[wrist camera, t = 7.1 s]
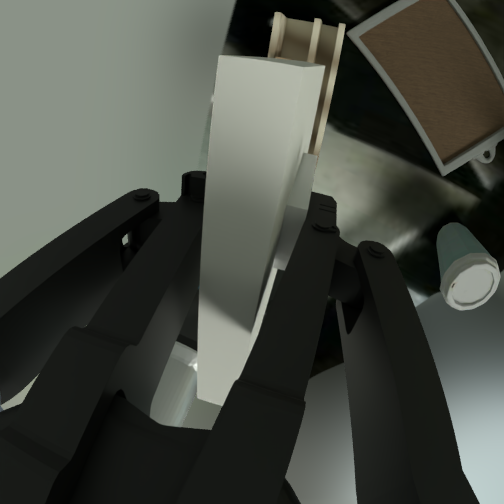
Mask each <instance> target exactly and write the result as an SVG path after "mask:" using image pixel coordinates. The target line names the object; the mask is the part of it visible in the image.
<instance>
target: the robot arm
mask: <svg viewBox="0 0 504 504" xmlns="http://www.w3.org/2000/svg"><path fill="white" fill-rule="evenodd" d="M317 157H318V156H316V155H312V154H308V153H303V156H302V160H301V163H300V166H299V169H298V172H297V175H296V178H295V181H294V184H293V187H292V190H291V193H290V196H289V199H288V202H287V205H286V210H285V215H284V219H283V224H282V229H281V233H280V238H279V242H278V247H277V252H276V256H275V261H274V265H273V268H276V269H277V273H276V276H275V280H274V283H273V286H272V290H271V293H270V297H269V300H268V303H267V307H266V310H265V313H264V317H263V320H262V323H261V327H260V330H259V333H258V336H257V338H256V340H255V343H254V345H253V347H252V350H251V352H250V354H249V357H248V359H247V361H246V364H245V366H244V368H243V370H242V373H241V375H240V377H239V378H238V380H235V382H234V383H233V385H232V387H231V389H230V391H229V393H228V395H227V397H226V400H225V402H224V404H223V406H222V408H221V411H220V413H219V415H218V417H217V419H216V421H215V424H214V426H213V428H212V430H205V429H193V428H183V427H181V426H182V424H183V422H184V419H185V417H186V415H187V413H188V410H189V408H190V406H191V404H192V402H193V400H194V397H195V395H196V393H197V352H198V312H199V286H200V264H201V245H202V229H203V213H204V199H205V186H206V173H207V172H205V171H190V172H187V173H184V174H183V175H182V189H181V196H180V198H179V199H178V200H177V201H176V202H159V194H158V192H156V191H154V190H150V189H147V188H146V189H143V188H141V189H137V190H133V191H131V192H129V193H127V194H125V195H124V196H122V197H120V198H118V199H117V200H115V201H113V202H112V203H110V204H108V205H107V206H105V207H103V208H102V209H100V210H99V211H97V212H95V213H94V214H92V215H91V216H89V217H88V218H86V219H84V220H83V221H81V222H80V223H78V224H76V225H75V226H73V227H72V228H70V229H69V230H67V231H66V232H64V233H63V234H61V235H60V236H58V237H57V238H55V239H54V240H53V241H51V242H50V243H48V244H47V245H45V246H44V247H43V248H41V249H40V250H38V251H37V252H36V253H34V254H32V255H31V256H30V257H28V258H27V259H26V260H24V261H23V262H22V263H20V264H19V265H17V266H16V267H15V268H14V269H12V270H11V271H10V272H8V273H7V274H6V275H4V276H3V277H2V278H0V405H2V404H3V403H5V402H7V401H8V400H10V399H11V398H13V397H14V396H15V395H17V394H18V393H19V392H20V391H22V390H23V389H24V388H25V387H26V386H27V385H28V384H29V383H30V382H31V381H32V380H33V379H34V378H35V377H36V376H37V375H38V374H39V375H38V377H37V378H36V380H35V382H34V383H33V385H32V387H31V389H30V390H29V392H28V394H27V395H26V397H25V399H24V401H23V402H22V403H21V404H19V405H16V406H14V407H11V408H9V409H6V410H3V409H2V408H1V406H0V504H301V503H300V502H299V500H298V498H297V496H296V494H295V492H294V491H293V489H292V487H291V485H290V484H289V483H288V481H287V480H286V479H285V475H286V472H287V469H288V466H289V463H290V459H291V456H292V453H293V450H294V446H295V443H296V439H297V436H298V433H299V429H300V425H301V422H302V418H303V415H304V410H305V404H306V402H305V401H304V396H305V391H306V388H307V384H308V380H309V376H310V373H311V369H312V365H313V361H314V356H315V352H316V348H317V344H318V340H319V335H320V331H321V327H322V322H323V317H324V313H325V308H326V303H327V299H328V295H329V296H331V297H333V298H335V299H337V301H336V309H337V315H338V321H339V328H340V335H341V342H342V349H343V356H344V364H345V372H346V379H347V388H348V397H349V407H350V416H351V427H352V438H353V451H354V465H355V481H356V495H357V504H480V503H479V501H478V500H477V497H476V495H475V494H474V492H473V490H472V488H471V486H470V484H469V482H468V480H467V478H466V476H465V474H464V472H463V470H462V466H461V461H460V456H459V451H458V446H457V442H456V438H455V433H454V429H453V425H452V421H451V417H450V413H449V409H448V406H447V402H446V398H445V395H444V391H443V388H442V385H441V381H440V378H439V375H438V372H437V368H436V365H435V362H434V359H433V356H432V353H431V350H430V347H429V344H428V341H427V338H426V336H425V333H424V330H423V327H422V325H421V322H420V319H419V316H418V314H417V311H416V309H415V306H414V303H413V301H412V298H411V296H410V293H409V291H408V289H407V286H406V284H405V281H404V279H403V277H402V274H401V272H400V269H399V267H398V265H397V263H396V260H395V258H394V256H393V254H392V253H391V251H390V250H389V249H388V248H387V247H385V246H384V245H383V244H381V243H378V242H374V241H362V242H360V244H359V245H358V247H355V246H353V245H351V244H349V243H347V242H345V241H344V240H343V239H341V238H340V237H339V235H340V231H339V228H338V227H337V226H336V212H337V209H336V208H337V203H336V201H335V200H334V199H333V197H331V196H327V195H323V194H319V193H315V192H311V190H312V185H313V179H314V174H315V168H316V162H317ZM126 234H128V243H126V244H125V245H123V243H122V238H123V237H124V236H125V235H126Z"/></svg>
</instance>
